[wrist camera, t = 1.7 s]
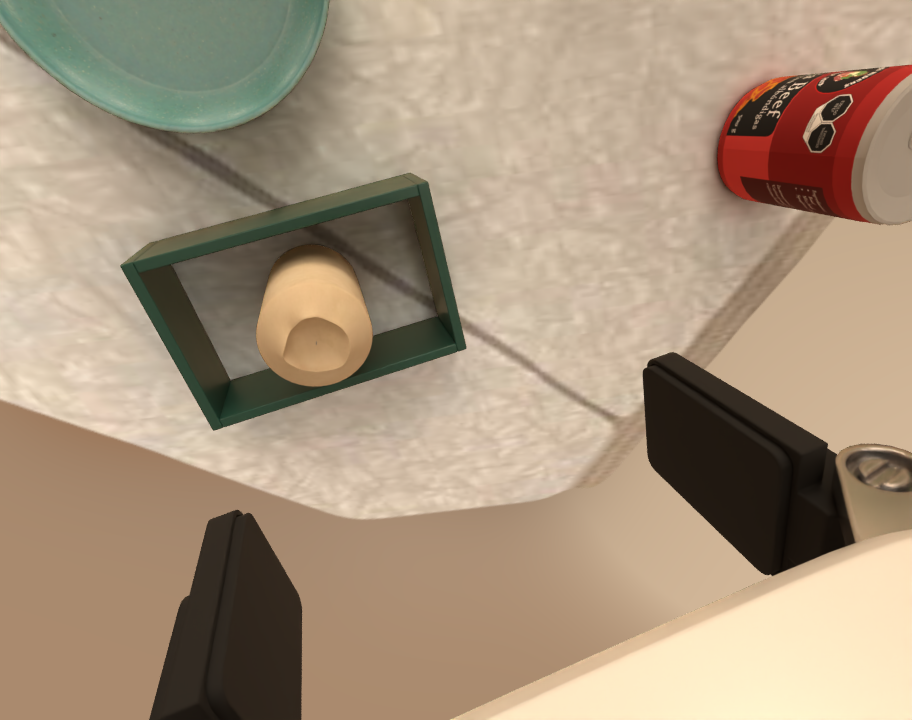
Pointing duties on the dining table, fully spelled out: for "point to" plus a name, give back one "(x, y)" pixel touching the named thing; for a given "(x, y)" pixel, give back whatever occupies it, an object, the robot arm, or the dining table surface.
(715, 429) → the robot arm
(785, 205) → the canned food
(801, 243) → the dining table surface
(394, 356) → the case
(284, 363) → the candle
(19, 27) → the saucer
